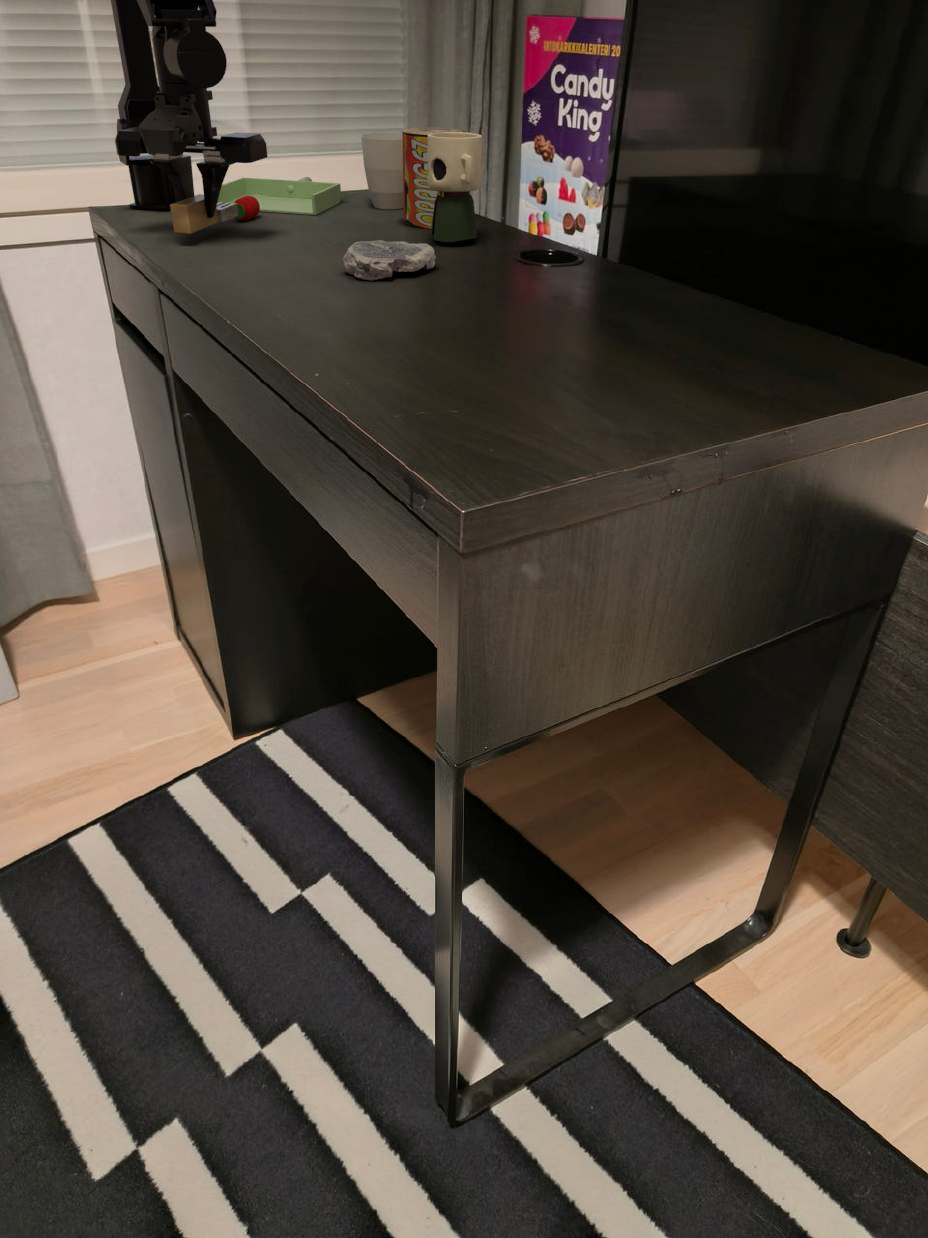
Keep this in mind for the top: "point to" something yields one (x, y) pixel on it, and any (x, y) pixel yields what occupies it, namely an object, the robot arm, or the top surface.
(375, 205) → the cup
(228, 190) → the tray
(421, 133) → the beverage can
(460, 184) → the character mug
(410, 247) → the fossil
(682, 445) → the top surface
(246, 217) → the strawberry
